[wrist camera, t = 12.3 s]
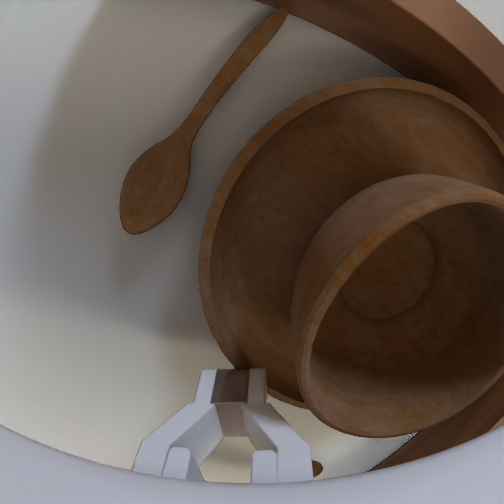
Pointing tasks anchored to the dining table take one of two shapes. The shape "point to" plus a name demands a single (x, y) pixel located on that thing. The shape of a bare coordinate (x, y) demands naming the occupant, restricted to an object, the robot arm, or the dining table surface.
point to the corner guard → (450, 80)
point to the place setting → (349, 247)
